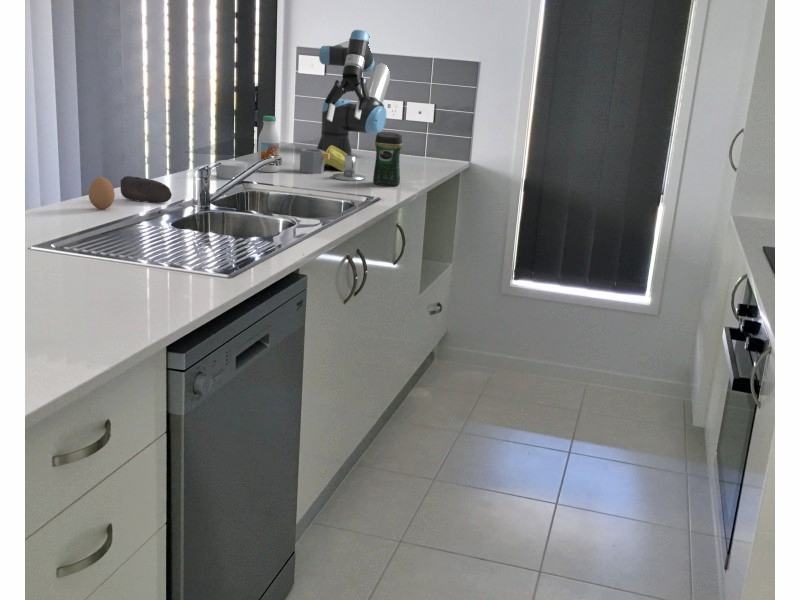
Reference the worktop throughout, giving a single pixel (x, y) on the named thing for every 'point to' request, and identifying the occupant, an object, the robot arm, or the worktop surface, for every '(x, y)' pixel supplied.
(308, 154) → the grey octagonal holder
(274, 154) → the milk bottle
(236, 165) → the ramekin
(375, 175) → the coffee jar
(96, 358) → the worktop surface
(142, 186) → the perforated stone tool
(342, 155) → the plastic component
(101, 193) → the egg
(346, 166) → the duct stub
